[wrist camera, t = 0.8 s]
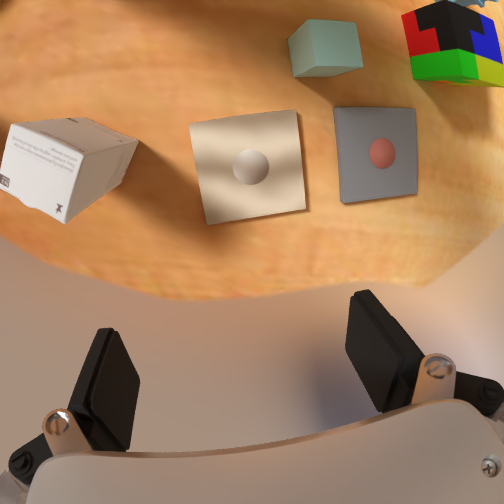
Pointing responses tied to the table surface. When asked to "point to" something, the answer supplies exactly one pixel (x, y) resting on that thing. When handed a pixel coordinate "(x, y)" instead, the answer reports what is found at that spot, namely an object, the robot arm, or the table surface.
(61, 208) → the skincare box
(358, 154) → the slate mat
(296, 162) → the birch pad
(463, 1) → the chair
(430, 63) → the puzzle toy
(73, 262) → the table surface
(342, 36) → the teal block
